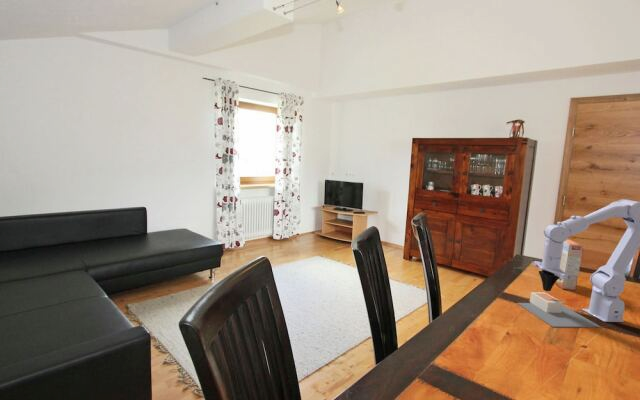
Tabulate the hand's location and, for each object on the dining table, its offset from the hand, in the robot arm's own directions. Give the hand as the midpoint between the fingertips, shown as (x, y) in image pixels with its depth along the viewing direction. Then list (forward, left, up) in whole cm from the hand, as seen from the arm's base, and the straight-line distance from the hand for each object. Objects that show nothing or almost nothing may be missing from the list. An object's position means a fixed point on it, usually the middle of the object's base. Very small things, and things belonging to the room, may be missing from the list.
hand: (546, 290), depth 130 cm
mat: (-6, 0, -7) cm, 9 cm away
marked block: (+4, 0, -5) cm, 6 cm away
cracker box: (+24, -28, -7) cm, 38 cm away
